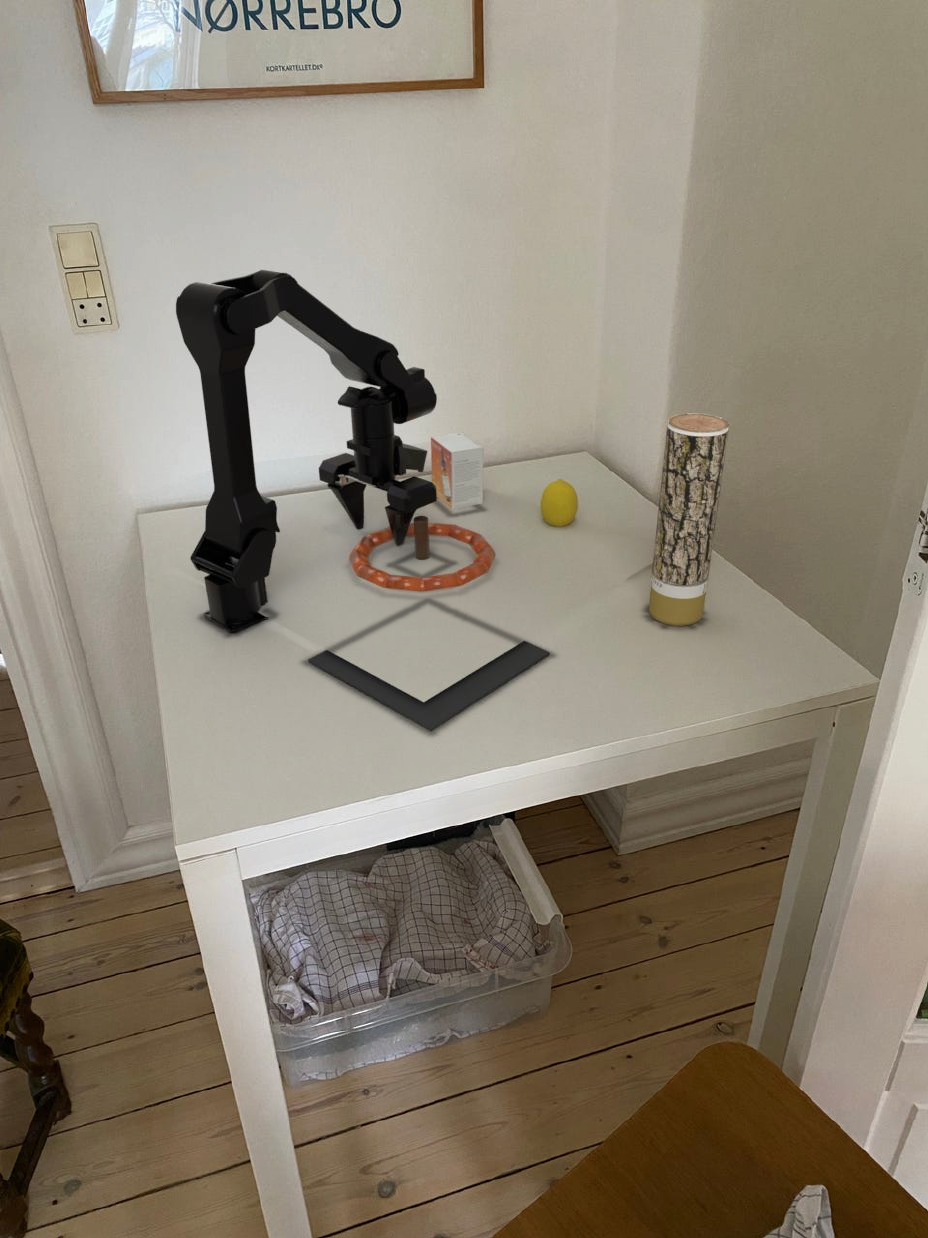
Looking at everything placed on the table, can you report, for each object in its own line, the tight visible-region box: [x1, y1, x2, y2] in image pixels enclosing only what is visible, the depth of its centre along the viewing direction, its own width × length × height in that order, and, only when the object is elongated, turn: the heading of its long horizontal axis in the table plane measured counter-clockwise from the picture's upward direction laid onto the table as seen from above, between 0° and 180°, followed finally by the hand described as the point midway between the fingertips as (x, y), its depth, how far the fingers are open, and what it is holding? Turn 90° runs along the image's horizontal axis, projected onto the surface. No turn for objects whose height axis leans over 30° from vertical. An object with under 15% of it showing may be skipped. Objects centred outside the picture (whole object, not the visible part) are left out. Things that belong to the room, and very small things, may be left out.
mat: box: [307, 640, 550, 732], centre depth 108 cm, size 20×20×1 cm
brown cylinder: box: [413, 515, 431, 561], centre depth 128 cm, size 6×6×7 cm
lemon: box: [539, 478, 579, 528], centre depth 137 cm, size 6×6×8 cm
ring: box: [348, 521, 496, 592], centre depth 129 cm, size 20×20×2 cm
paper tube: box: [648, 412, 730, 627], centre depth 110 cm, size 7×7×25 cm
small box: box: [430, 431, 485, 510], centre depth 145 cm, size 8×6×10 cm
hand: (379, 536), depth 134 cm, fingers open, 8 cm apart
